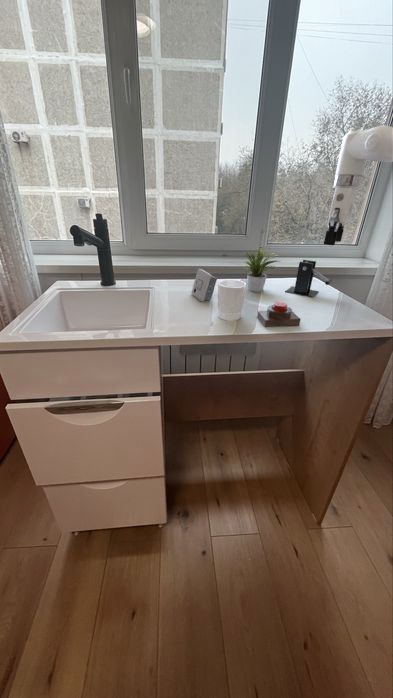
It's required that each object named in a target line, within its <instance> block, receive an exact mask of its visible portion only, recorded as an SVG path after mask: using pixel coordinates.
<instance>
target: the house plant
mask: <svg viewBox="0 0 393 698" xmlns="http://www.w3.org/2000/svg"><path fill="white" fill-rule="evenodd" d="M270 249H271V247H270V248H268V249H266V250H265V252H263V250H264V249H263V248H261V246H260V245H259V247H258V248H257V255H255V253H254V252H253V251H252V249H251V250H250V249H249V252H248V251H246V252H243V254H244V255H245V256H246V257H247V259H248V260H249V261H244V263H245V264H247V265H244V267H243V269H244V270H243V271H246V270H249V271H251V272H249V273H247V274H246V278H247V290H248V291H250V292H263V290H264V287H265V285H266V284H265V283H266V280H267V277H268V275H267V274H265V273H266V272H267V270H275V265H270V264H273V263H278V262H279V263H280V262H281V260H270V259H275V258H276V256H279V255H278V254H276V253H277V251H275V252H272V253H270V254H269V255H268V256H267V257H265V256H266V254H267V253H268V252H269V251H270ZM274 254H275V255H274ZM264 258H265V259H264ZM263 259H264V260H263Z"/></svg>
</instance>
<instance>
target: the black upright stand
mask: <svg viewBox="0 0 393 698" xmlns="http://www.w3.org/2000/svg"><path fill="white" fill-rule="evenodd" d="M306 261H307V262H306ZM308 262H309V263H308ZM316 265H317V261H316V260H310V259H309V260H308V259H302V261H299V263H298V269H297V273H296V279H295V284H294V285H293V286H289V288H288V289H286V290H285V291H284V293H287V294H292V295H297V296H303V297H307V298H314V297H316V295H317V294H318V293H319V290H315V289H311V287H312V283H313V279H314V274H313V273H312V268H313V269H314V270H316Z"/></svg>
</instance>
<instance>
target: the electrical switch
mask: <svg viewBox="0 0 393 698" xmlns="http://www.w3.org/2000/svg"><path fill="white" fill-rule="evenodd" d="M217 280H218V278H217V277H216V276H213V275H212V274H211V273H209V272H207V271H205V270H204V269H202V268H198V269H197V271H196V275H195V279H194V282H193V285H192V289H191V295H192V296H193V297H194V298H196V299H197V300H198V301H200V302H202V303H204V301H211V300H212V296H213V293H214V290H215V287H216V285H217V284H216V283H217Z"/></svg>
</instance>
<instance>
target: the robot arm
mask: <svg viewBox="0 0 393 698" xmlns="http://www.w3.org/2000/svg"><path fill="white" fill-rule="evenodd" d="M367 161H373V162H380V163H393V126H390V125H387V124H386V125H384V124H383V125H377V126H374V127H371V128H367V129H365V130H362V129H361V130H352V131H349V132H347V133H345V135H344V136H343V139H342V142H341V146H340V151H339V156H338V160H337V165H336V169H335V173H334V178H333V181H332V182H333V183H332V187H331V188H332V189H334V193H333V196H332V200H331V205H330V209H329V214H328V219H327V223H328V225H327V228H326V232H325V236H324V241H323V245H325V246H335V244H336V243H338V242H342V239H343V233H344V230H345V225H346V224H348V223H350V221H351V220H350V219H351V217H352V216H351V215H352V210H353V206H354V201H355V196H356V193H357V192H356V191H357V189H360V187H361V183H362V181H363V176H364V173H365V169H366V164H367Z"/></svg>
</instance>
